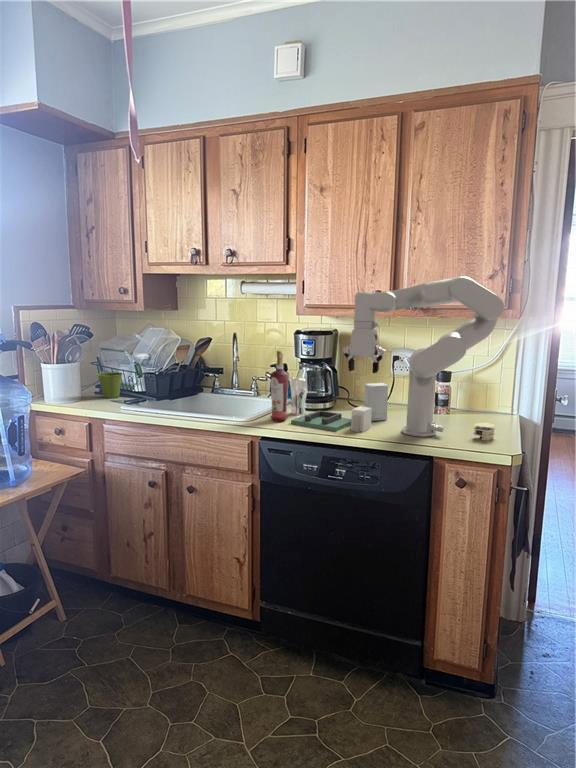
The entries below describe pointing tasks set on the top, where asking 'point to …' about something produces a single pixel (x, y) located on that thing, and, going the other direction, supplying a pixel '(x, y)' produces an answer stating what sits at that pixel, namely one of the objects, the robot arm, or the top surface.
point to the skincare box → (377, 400)
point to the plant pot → (110, 383)
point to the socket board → (323, 420)
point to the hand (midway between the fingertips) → (363, 371)
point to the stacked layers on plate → (484, 430)
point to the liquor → (279, 390)
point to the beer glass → (298, 395)
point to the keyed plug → (361, 419)
